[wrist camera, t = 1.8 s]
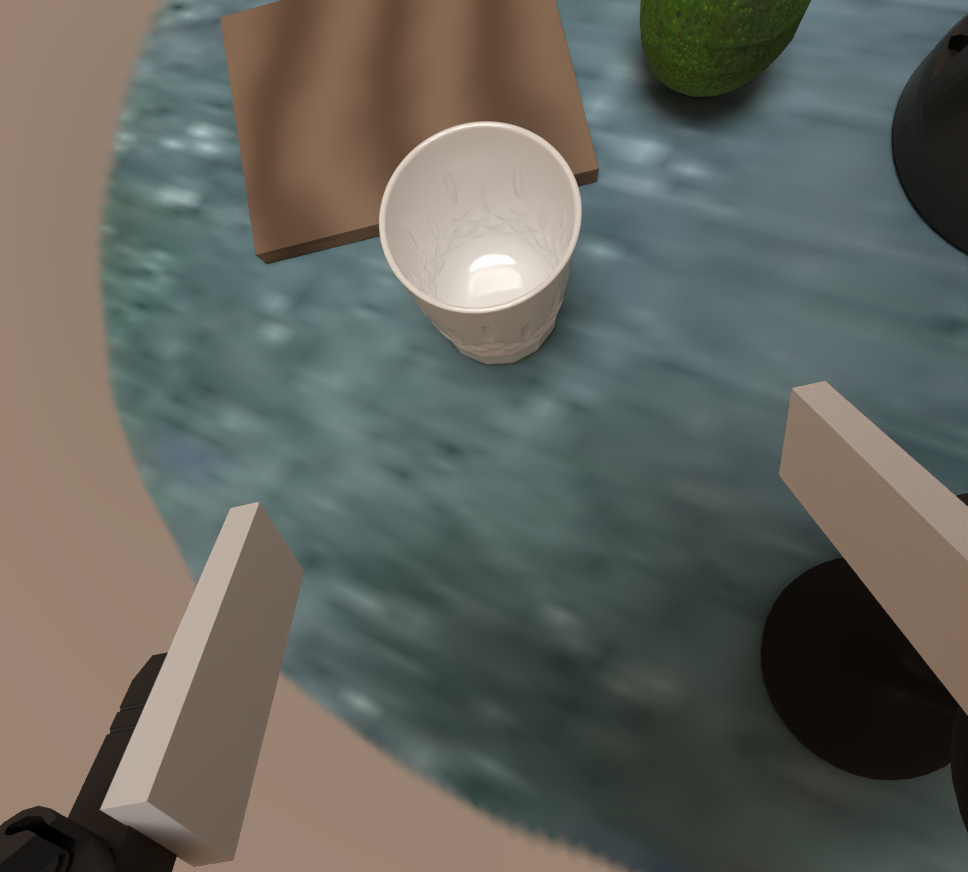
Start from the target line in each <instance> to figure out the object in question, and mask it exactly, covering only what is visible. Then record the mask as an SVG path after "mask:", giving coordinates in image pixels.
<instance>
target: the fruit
mask: <svg viewBox="0 0 968 872" xmlns="http://www.w3.org/2000/svg"><path fill="white" fill-rule="evenodd" d="M810 1H811V0H641V4H640V28H641V40H642V47H643V50H644V53H645V56H646V59H647V61H648V63H649V66H650V68H651V71H652V73H653V75H654V76H655V77H656V78H658V79H659V80H660V81H661V82H662V83H663V84H665V85H666V86H668V87H669V88H670V89H672V90H674V91H676V92H679V93H682V94H684V95H687V96H694V97H701V96H718V95H721V94H724V93H727V92H730V91H733V90H736V89H739V88H740V87H742V86H743V85H745V84H746V83H748V82H749V81H751V80H752V79H753V78H755V77H756V76H758V75H759V74H760V73H761V72H762V71H764V70H765V69H766V68H767V67H768V66H769V65H770V64H771V63H772V62H773V61H774V60H775V59H776V58H777V57H778V56H779V55H780V54H781V52H782V51H783V50H784V49H785V48H786V46H787V45H788V44H789V43H790V42H791V41H792V39H793V37H794V34H795V32H796V30H797V28H798V26H799V24H800V22H801V20H802V18H803V16H804V14H805V12H806V10H807V8H808V5H809V3H810Z"/></svg>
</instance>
